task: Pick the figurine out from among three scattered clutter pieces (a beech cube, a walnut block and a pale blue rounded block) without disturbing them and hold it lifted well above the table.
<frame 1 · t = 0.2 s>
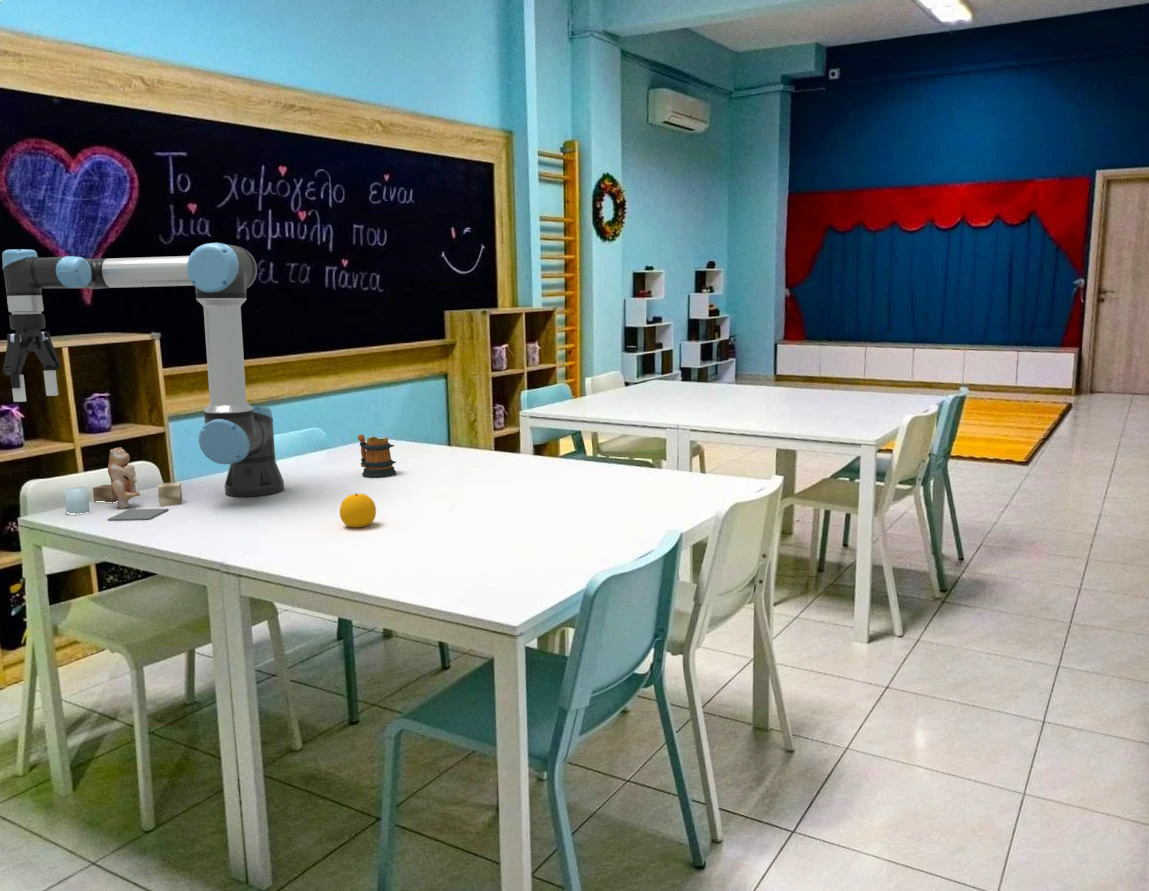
hand: (36, 398, 228), 28 cm above the table, fingers open, 13 cm apart
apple: (358, 526, 206), on the table
walnut block: (109, 501, 237), on the table
grey mat: (138, 515, 220), on the table
figurine: (126, 507, 230), on the table
beech block: (171, 503, 233), on the table
pale blue rounded block: (78, 512, 224), on the table
mug: (375, 475, 266), on the table
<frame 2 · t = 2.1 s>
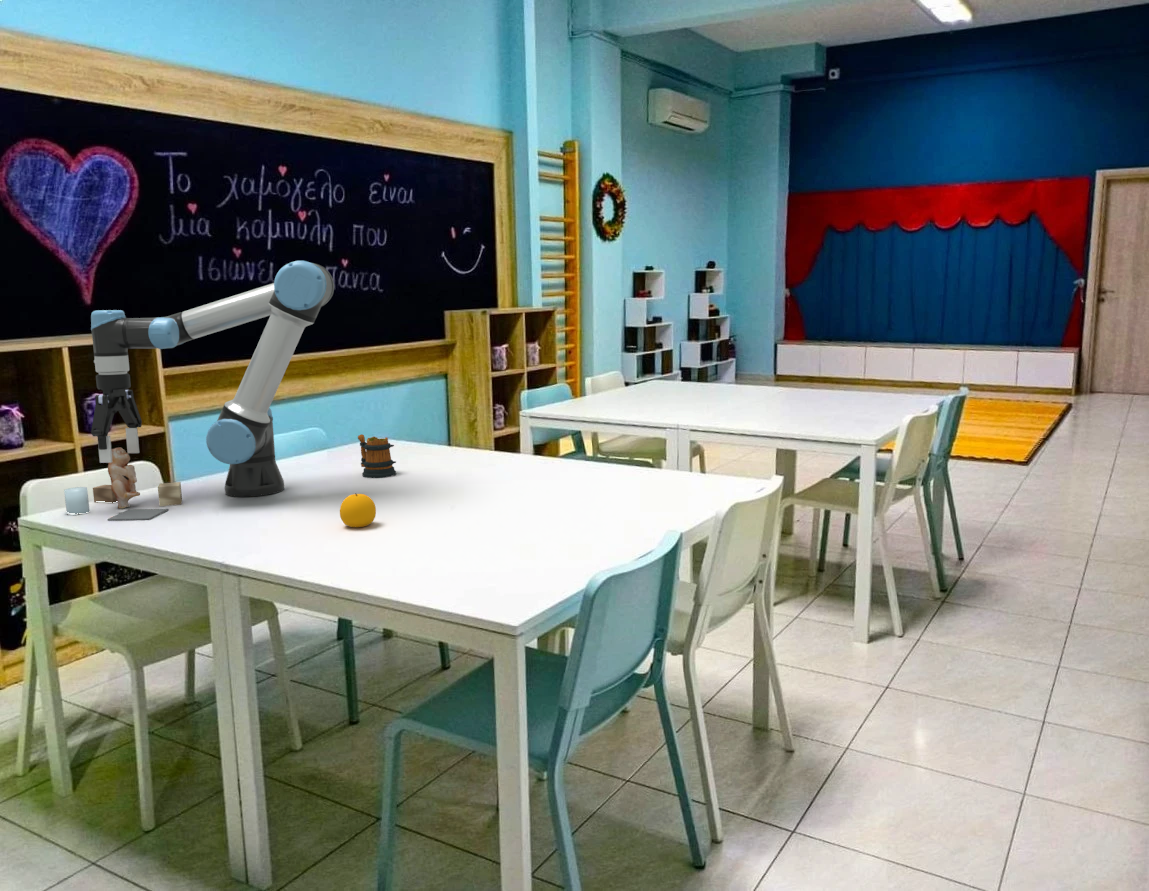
hand: (120, 457, 228), 13 cm above the table, fingers open, 13 cm apart
nothing on the table moved.
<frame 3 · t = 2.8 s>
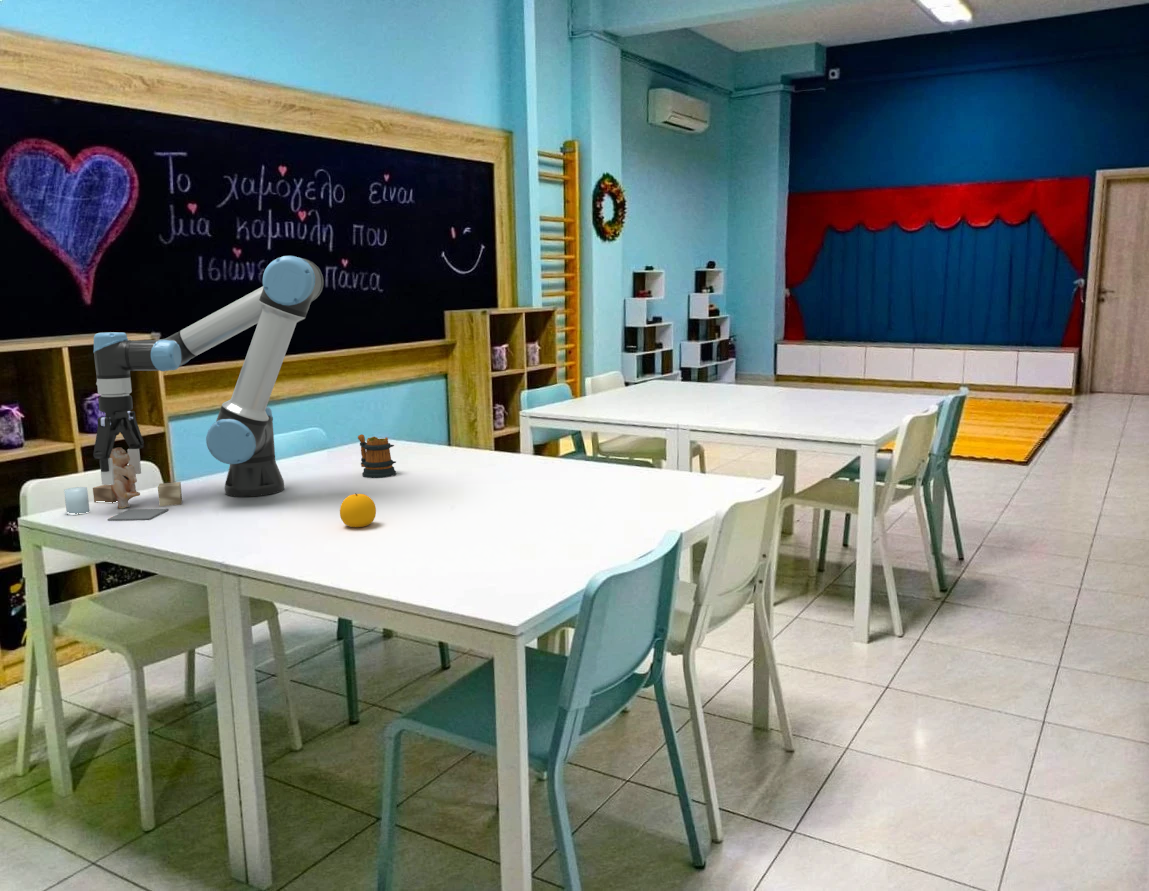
hand: (122, 479, 229), 7 cm above the table, fingers open, 13 cm apart
nothing on the table moved.
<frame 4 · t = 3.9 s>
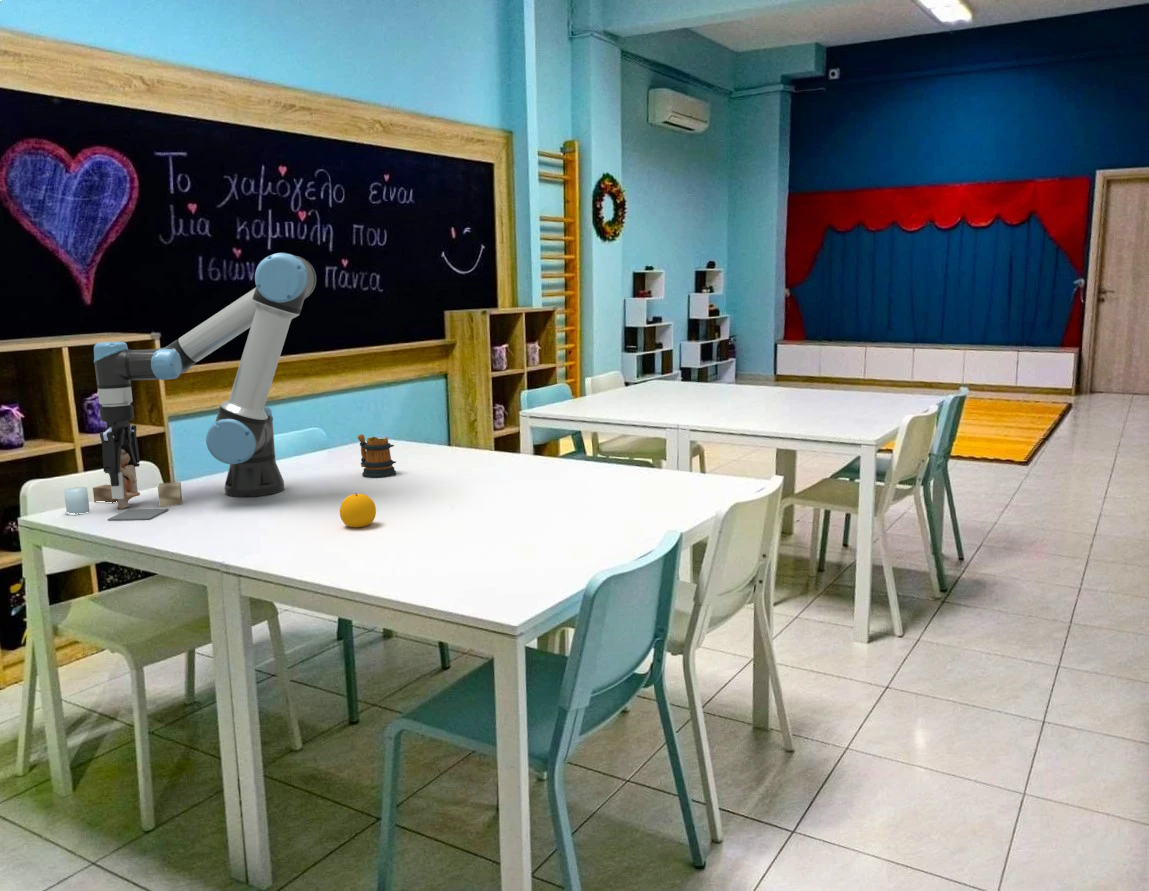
hand: (125, 495, 230), 3 cm above the table, fingers closed on figurine, 6 cm apart
figurine: (126, 507, 230), on the table, touching gripper
everything else where it was.
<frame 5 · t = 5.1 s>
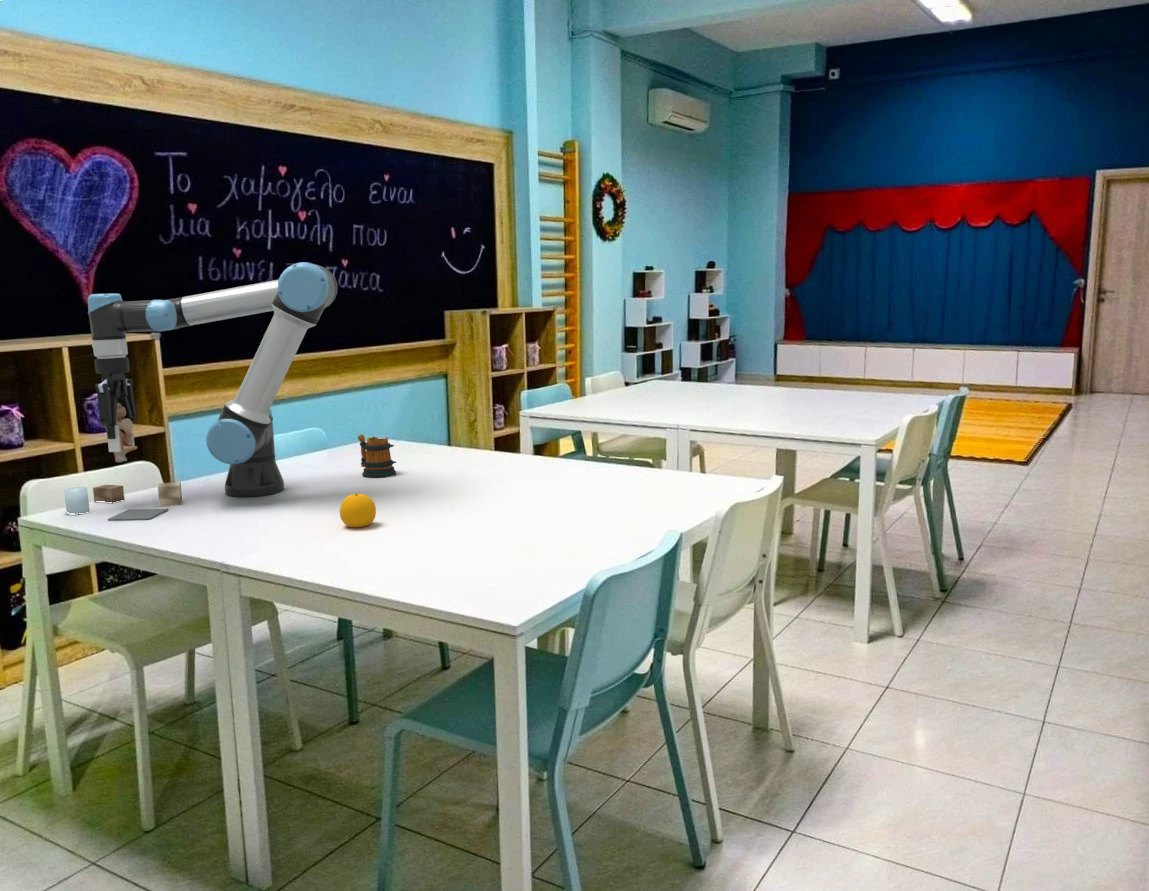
hand: (122, 449, 228), 15 cm above the table, fingers closed on figurine, 6 cm apart
figurine: (123, 461, 228), point 12 cm above the table, touching gripper
everything else where it was.
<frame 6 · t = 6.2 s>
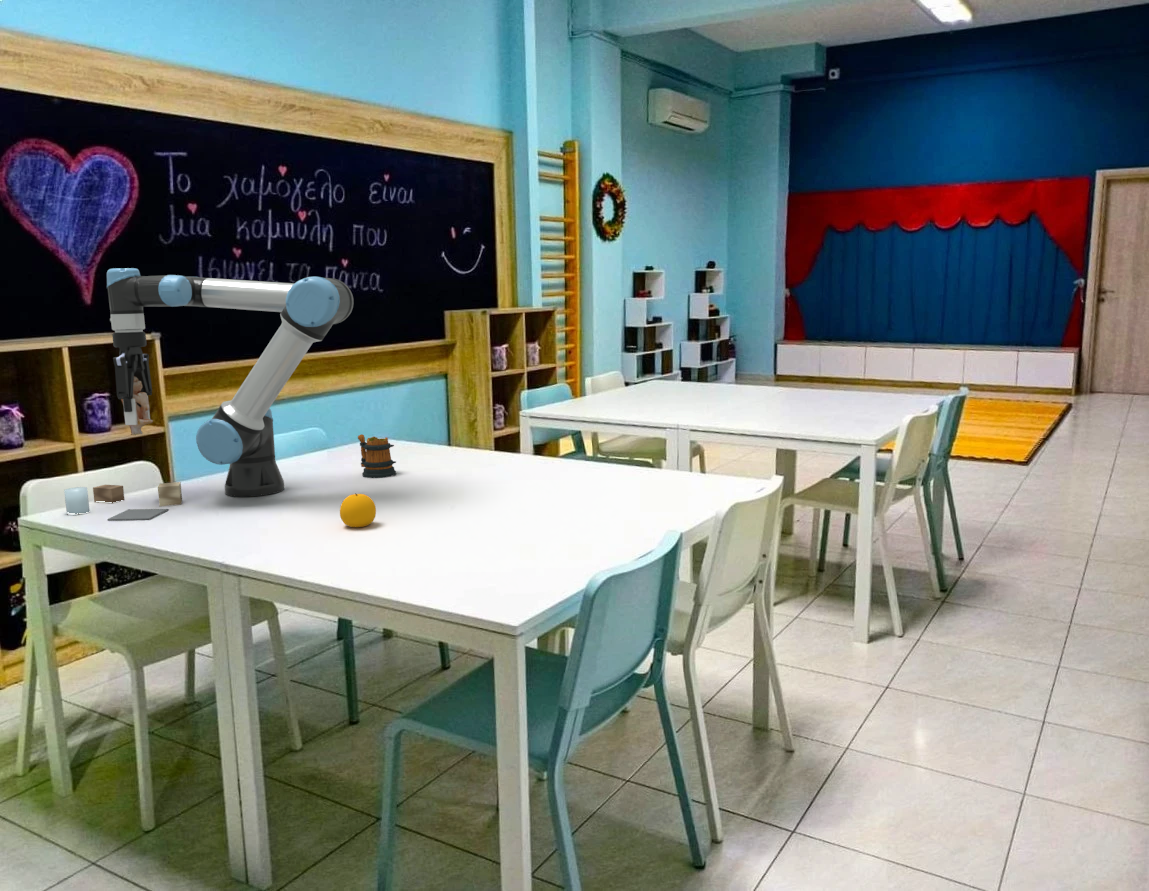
hand: (138, 422, 231), 21 cm above the table, fingers closed on figurine, 6 cm apart
figurine: (139, 434, 231), point 18 cm above the table, touching gripper
everything else where it was.
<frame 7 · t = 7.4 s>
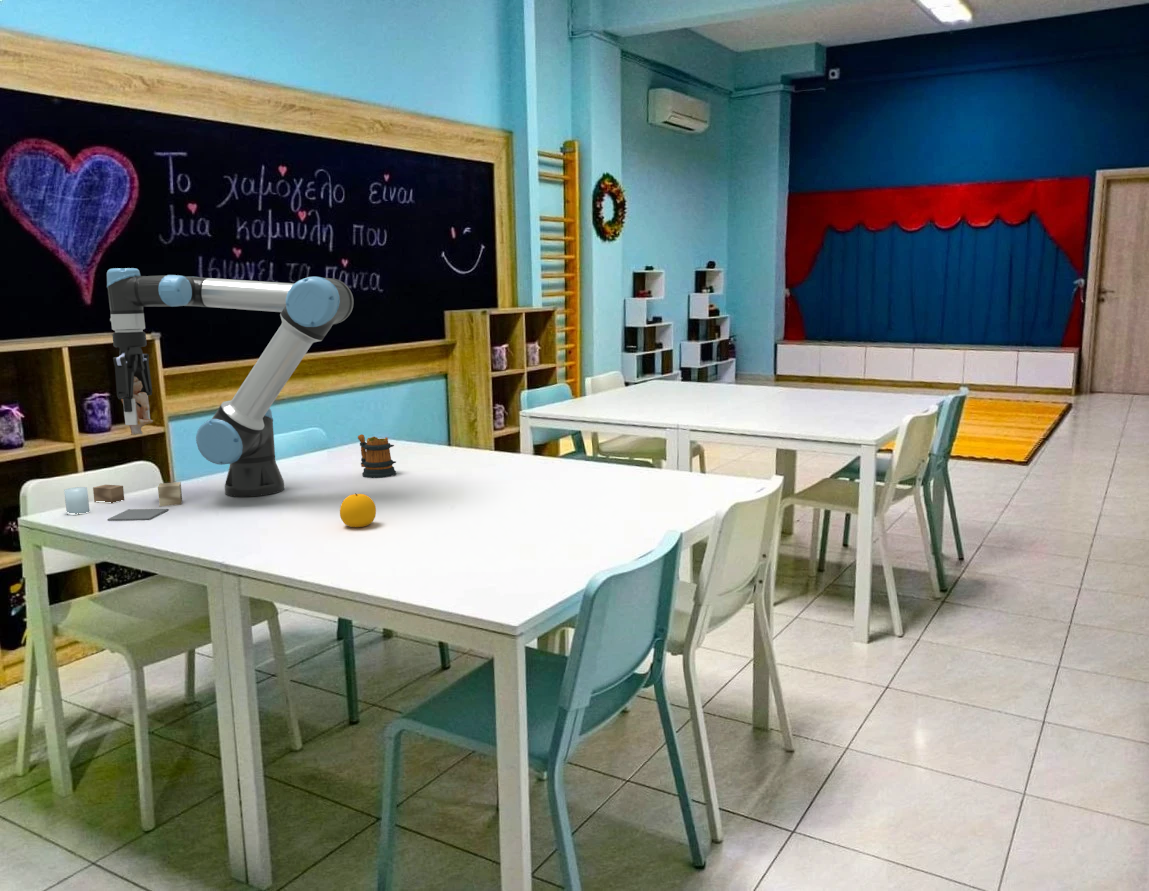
hand: (138, 422, 231), 21 cm above the table, fingers closed on figurine, 6 cm apart
figurine: (139, 434, 231), point 18 cm above the table, touching gripper
everything else where it was.
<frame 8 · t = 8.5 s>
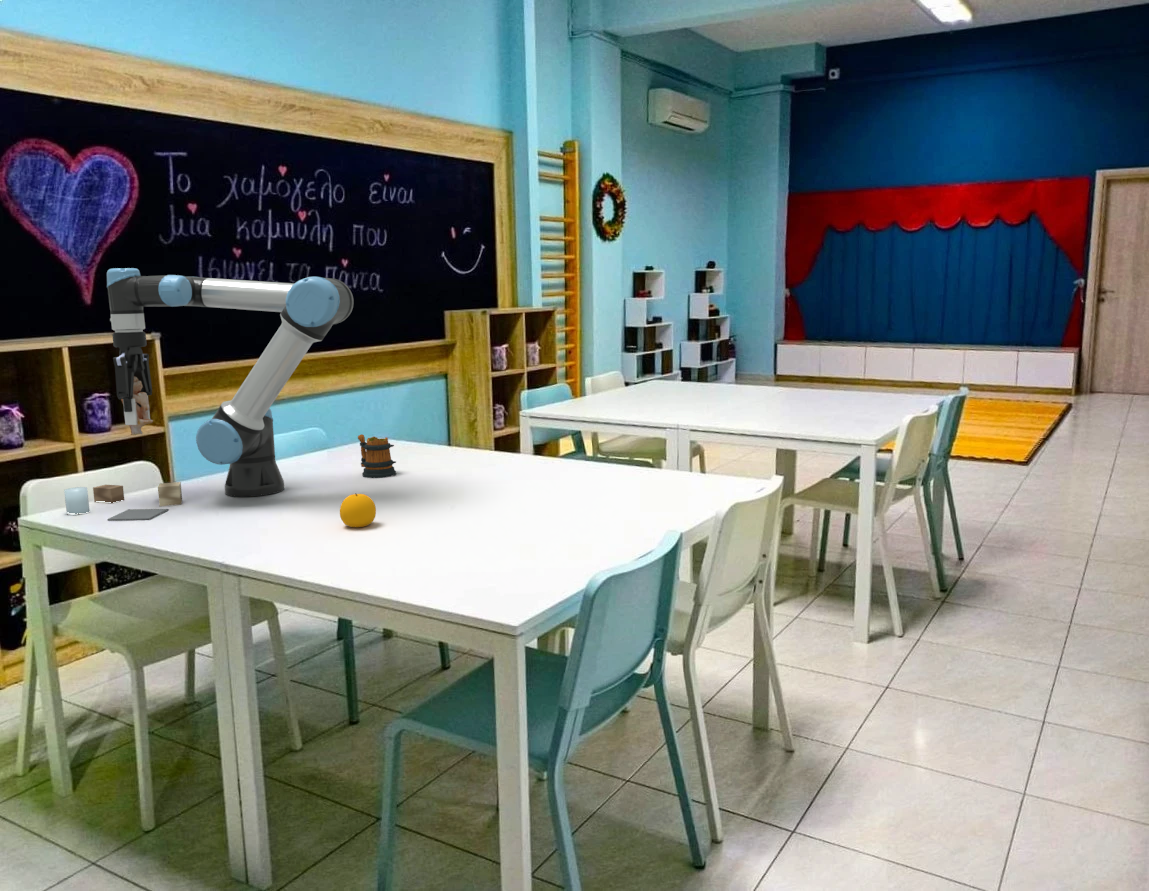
hand: (138, 422, 231), 21 cm above the table, fingers closed on figurine, 6 cm apart
figurine: (139, 434, 231), point 18 cm above the table, touching gripper
everything else where it was.
at the end: the gripper is holding figurine; figurine point 17.7 cm above the table; beech block moved 0.1 cm from its start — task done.
